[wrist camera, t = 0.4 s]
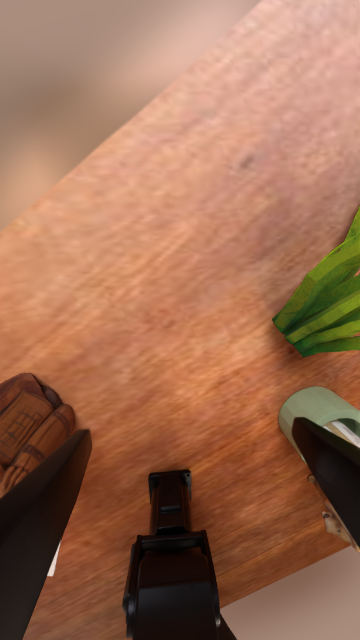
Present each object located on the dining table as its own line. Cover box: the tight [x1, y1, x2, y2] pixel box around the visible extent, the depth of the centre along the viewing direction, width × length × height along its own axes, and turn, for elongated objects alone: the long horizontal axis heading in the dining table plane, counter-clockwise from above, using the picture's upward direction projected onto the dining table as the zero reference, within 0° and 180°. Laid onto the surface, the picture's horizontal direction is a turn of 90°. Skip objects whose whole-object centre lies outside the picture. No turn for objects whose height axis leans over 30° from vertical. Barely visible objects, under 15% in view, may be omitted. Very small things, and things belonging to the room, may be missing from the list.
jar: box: [278, 387, 360, 464], centre depth 24 cm, size 9×9×4 cm
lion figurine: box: [308, 475, 360, 553], centre depth 26 cm, size 15×5×9 cm, turn 44°
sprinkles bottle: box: [322, 419, 360, 448], centre depth 19 cm, size 5×5×14 cm
